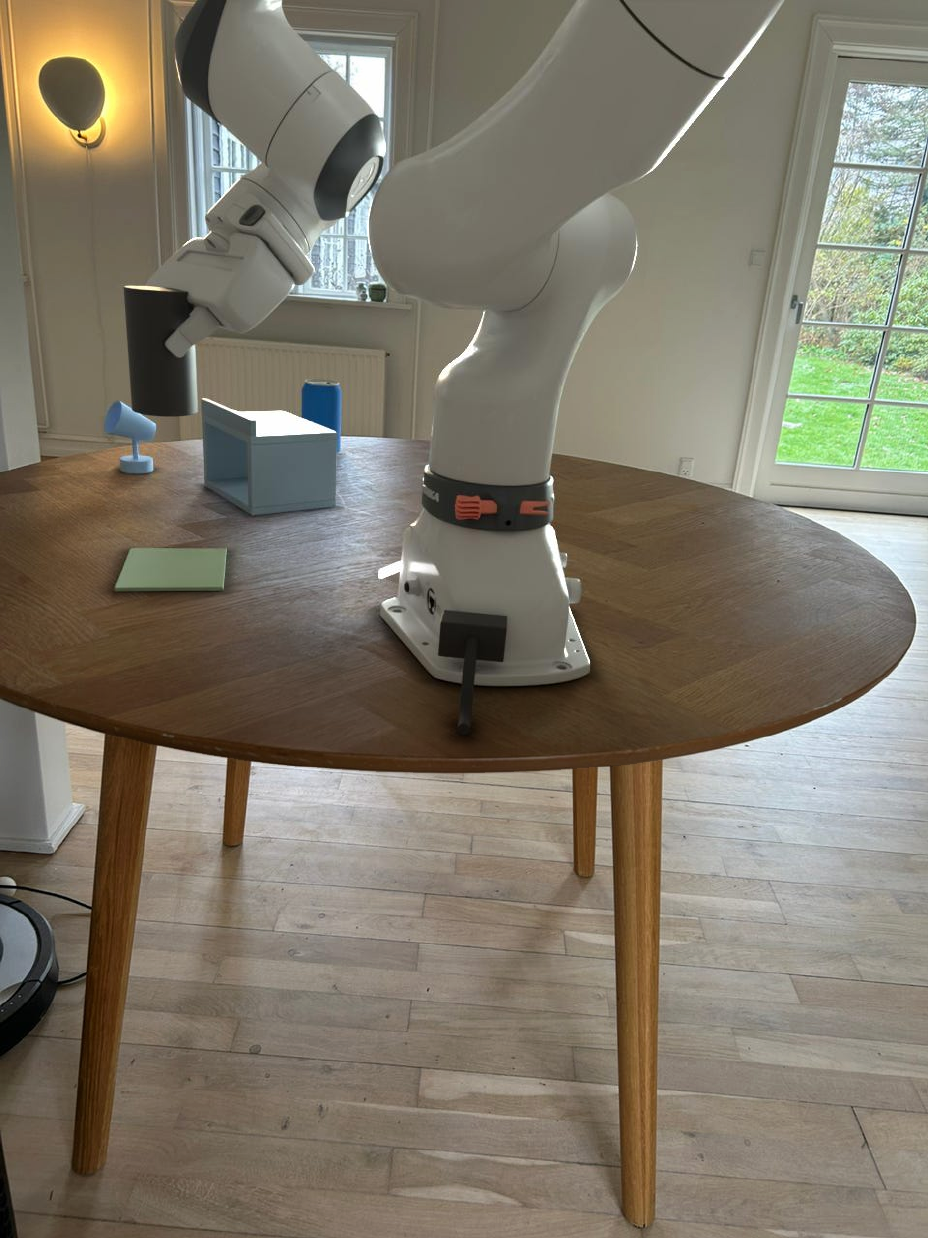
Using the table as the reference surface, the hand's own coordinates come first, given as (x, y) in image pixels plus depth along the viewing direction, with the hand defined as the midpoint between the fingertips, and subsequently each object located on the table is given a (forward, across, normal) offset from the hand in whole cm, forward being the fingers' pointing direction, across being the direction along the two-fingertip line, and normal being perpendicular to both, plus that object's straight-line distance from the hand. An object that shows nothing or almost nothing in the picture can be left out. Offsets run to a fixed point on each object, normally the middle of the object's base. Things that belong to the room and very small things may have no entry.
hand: (155, 346), depth 79 cm
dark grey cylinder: (+4, 0, +5) cm, 6 cm away
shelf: (0, -23, +31) cm, 39 cm away
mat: (+15, 0, +16) cm, 22 cm away
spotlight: (+9, -43, +23) cm, 49 cm away
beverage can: (-13, -44, +45) cm, 64 cm away
